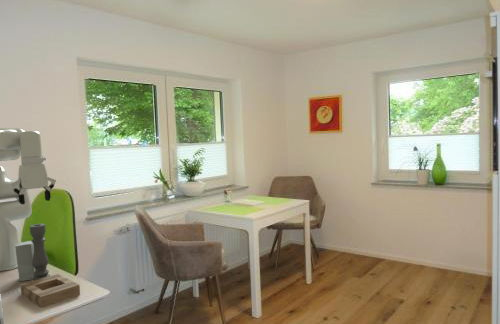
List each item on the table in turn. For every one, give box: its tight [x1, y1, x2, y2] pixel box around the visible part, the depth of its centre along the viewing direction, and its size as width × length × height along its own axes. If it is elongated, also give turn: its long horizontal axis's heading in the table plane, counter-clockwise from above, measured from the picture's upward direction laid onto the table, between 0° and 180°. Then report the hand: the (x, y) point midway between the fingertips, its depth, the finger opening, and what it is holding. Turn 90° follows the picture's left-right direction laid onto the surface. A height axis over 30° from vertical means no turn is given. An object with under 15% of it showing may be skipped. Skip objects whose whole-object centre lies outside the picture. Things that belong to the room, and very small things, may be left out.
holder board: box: [20, 273, 81, 308], centre depth 150 cm, size 20×14×4 cm
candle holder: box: [29, 223, 51, 281], centre depth 161 cm, size 6×6×25 cm
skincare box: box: [15, 240, 36, 282], centre depth 169 cm, size 8×7×16 cm
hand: (35, 202), depth 159 cm, fingers open, 9 cm apart
